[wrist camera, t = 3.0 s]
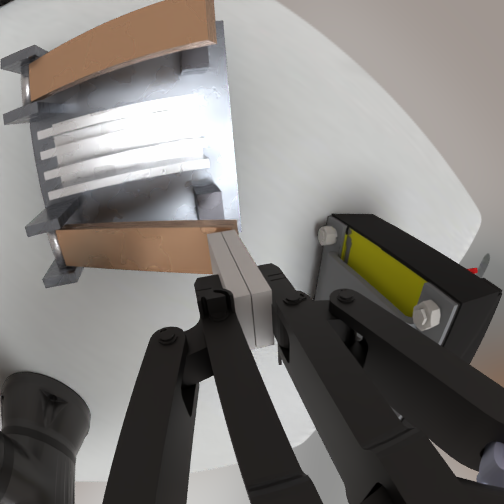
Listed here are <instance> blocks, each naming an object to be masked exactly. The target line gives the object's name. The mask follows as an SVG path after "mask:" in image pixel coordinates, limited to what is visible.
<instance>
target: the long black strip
mask: <svg viewBox="0 0 504 504" xmlns="http://www.w3.org/2000/svg"><path fill="white" fill-rule="evenodd" d="M8 1H10V0H0V6H1V5H2V4H4V3H6V2H8Z"/></svg>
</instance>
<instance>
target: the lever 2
mask: <svg viewBox="0 0 504 504" xmlns="http://www.w3.org/2000/svg"><path fill="white" fill-rule="evenodd" d="M234 229H235V231H236V232H237V234H238V226H237V220H173V221H136V222H107V223H84V224H65V225H63V226H62V228H61V229H58V230H56V234H57V237H58V241H59V244H60V247H61V251H62V254H63V257H64V260H65V263H66V266H77V267H92V268H107V269H123V270H140V271H157V272H176V273H197V274H213V272H212V266H211V259H210V253H209V246H208V239H207V234H210V233H216V232H222V231H228V230H234Z"/></svg>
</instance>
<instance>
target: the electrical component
mask: <svg viewBox="0 0 504 504" xmlns="http://www.w3.org/2000/svg"><path fill="white" fill-rule="evenodd" d="M318 239H319V242H320V244H321V246H322V245H324V247H323V253H322V259H321V265H320V271H319V277H318V283H317V288H316V294H315V299H314V300H329V296H330V294H331V293H332V292H333V291H335V290H338V289H344V288H345V289H352V290H354V291H357V292H359V293H360V294H362V295H363V296H365V297H366V298H368V299H370V300H371V301H373V302H374V303H376V304H377V305H379V306H381V307H382V308H384V309H385V310H387V311H388V312H390V313H392V314H393V315H395V316H396V317H398V318H399V319H401V320H402V321H404V322H405V323H407V324H409V325H410V326H412V327H413V328H415V329H416V330H418V331H419V332H421V333H422V334H424V335H425V336H427V337H429V338H430V339H432V340H433V341H435V342H436V343H438V344H439V345H441V346H442V347H444V348H445V349H447V350H448V351H450V352H451V353H453V354H454V355H456V356H457V357H459V358H460V359H462V360H463V361H465V362H466V363H468V364H470V363H471V361H472V359H473V357H474V355H475V353H476V351H477V349H478V347H479V345H480V343H481V341H482V339H483V337H484V335H485V333H486V331H487V329H488V326H489V324H490V322H491V320H492V317H493V315H494V313H495V310H496V308H497V306H498V303H499V301H500V298H501V295H502V290H501V289H500V288H498V287H497V286H495V285H494V284H492V283H491V282H489V281H488V280H486V279H485V278H479V277H478V276H476V275H475V274H474V273H477V268H471V269H466V268H464V267H462V266H461V265H459V264H458V263H456V262H455V261H453V260H451V259H450V258H448V257H447V256H445V255H443V254H442V253H440V252H438V251H437V250H435V249H433V248H432V247H430V246H428V245H427V244H425V243H423V242H422V241H420V240H418V239H416V238H415V237H413V236H411V235H409V234H408V233H406V232H404V231H402V230H401V229H399V228H397V227H395V226H394V225H392V224H390V223H388V222H386V221H384V220H383V219H381V218H379V217H377V216H375V215H373V214H332V216H328V220H327V226H324V227H321V228H320V229H319V232H318ZM357 336H358V337H359V338H361V339H362V337H363V336H361V335H360V334H359V333H357ZM391 408H392V407H391ZM392 410H393V411H394V412H395V414H396V415H397V417H398V418H399V419H400V421H401V422H402V423H403V425H404V426H405V427H407V428H415V427H414V426H413V425H412V424H411V423H409V422H408V421H407V420H406V419H405V418H404V417H402V416H401V415H400V414H399V413H398V412H396V411H395V410H394V409H393V408H392Z"/></svg>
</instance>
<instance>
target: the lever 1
mask: <svg viewBox="0 0 504 504" xmlns="http://www.w3.org/2000/svg"><path fill="white" fill-rule="evenodd" d="M213 44H217V37H216V24H215V11H214V0H165V1H162V2H158V3H155V4H152V5H150V6H147V7H144V8H141V9H138V10H136V11H133V12H130V13H128V14H125V15H123V16H120V17H118V18H116V19H113V20H111V21H109V22H106V23H104V24H102V25H100V26H98V27H95V28H93V29H91V30H89V31H87V32H85V33H83V34H81V35H79V36H77V37H75V38H73V39H71V40H69V41H68V42H66V43H64V44H62V45H60V46H59V47H57V48H55V49H53V50H52V51H50V52H48V53H46V54H45V55H43V56H42V57H40V58H38V59H37V60H35V61H34V62H32V63H30V64H29V81H30V96H31V102H32V101H39V100H44V99H46V98H48V97H50V96H52V95H54V94H56V93H58V92H61V91H63V90H65V89H67V88H70V87H72V86H74V85H77V84H79V83H82V82H84V81H87V80H89V79H92V78H94V77H97V76H100V75H102V74H105V73H108V72H111V71H114V70H117V69H120V68H123V67H126V66H129V65H132V64H135V63H138V62H142V61H145V60H149V59H152V58H156V57H160V56H163V55H167V54H171V53H175V52H180V51H184V50H188V49H193V48H198V47H203V46H208V45H213Z"/></svg>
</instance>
